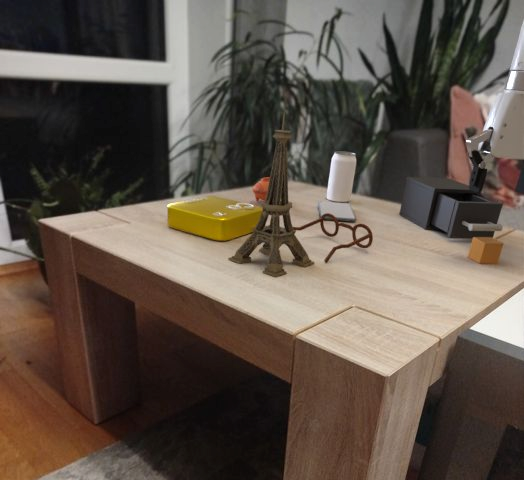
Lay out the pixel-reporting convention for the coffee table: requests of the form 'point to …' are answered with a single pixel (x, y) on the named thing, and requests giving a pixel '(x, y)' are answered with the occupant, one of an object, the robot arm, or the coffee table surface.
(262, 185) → the orange cupcake
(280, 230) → the eiffel tower
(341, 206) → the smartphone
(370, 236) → the glasses
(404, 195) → the cabinet
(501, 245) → the block
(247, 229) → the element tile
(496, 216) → the drawer
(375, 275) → the coffee table surface
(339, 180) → the can
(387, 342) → the coffee table surface
